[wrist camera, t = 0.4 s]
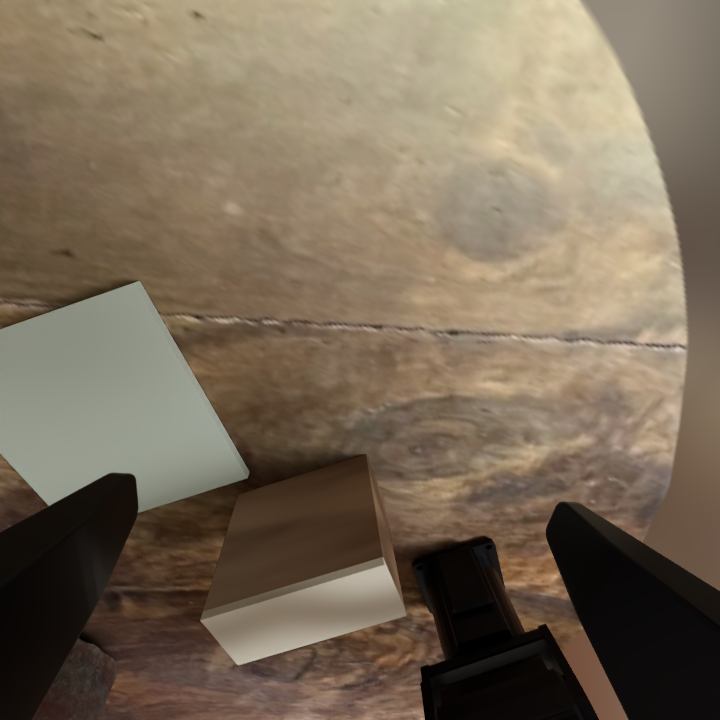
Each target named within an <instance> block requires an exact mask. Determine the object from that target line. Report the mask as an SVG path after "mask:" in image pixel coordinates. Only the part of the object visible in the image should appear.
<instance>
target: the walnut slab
mask: <svg viewBox="0 0 720 720" xmlns="http://www.w3.org/2000/svg"><path fill="white" fill-rule="evenodd" d="M404 616H406V612H405V606H404V601H403V596H402V591H401V586H400V581H399V576H398V571H397V566H396V561H395V556H394V551H393V546H392V541H391V536H390V531H389V526H388V521H387V515H386V510H385V505H384V500H383V496H382V494H381V491H380V489H379V486H378V483H377V481H376V478H375V476H374V473H373V471H372V468H371V465H370V463H369V460H368V458H367V455H366V454H365V455H362V456H359V457H355V458H352V459H349V460H346V461H343V462H340V463H336V464H333V465H330V466H327V467H324V468H321V469H317V470H314V471H311V472H308V473H305V474H302V475H298V476H295V477H292V478H289V479H286V480H283V481H279V482H276V483H273V484H270V485H267V486H264V487H260V488H257V489H254V490H251V491H248V492H245V493H241V494H238V497H237V500H236V504H235V507H234V510H233V514H232V517H231V520H230V523H229V527H228V530H227V533H226V537H225V540H224V543H223V547H222V550H221V553H220V557H219V560H218V563H217V567H216V570H215V573H214V576H213V580H212V583H211V586H210V590H209V593H208V596H207V600H206V603H205V606H204V610H203V613H202V616H201V620H200V621H201V622H202V623H203V624H204V626H205V627H206V628H207V629H208V630H209V631H210V633H211V634H212V635H213V636H214V637H215V639H216V640H217V641H218V642H219V643H220V645H221V646H222V647H223V648H224V649H225V651H226V652H227V653H228V654H229V655H230V657H231V658H232V659H233V660H234V661H235V663H236V664H237V665H241V664H244V663H248V662H251V661H255V660H258V659H261V658H265V657H268V656H271V655H275V654H278V653H282V652H285V651H288V650H292V649H295V648H299V647H302V646H305V645H309V644H312V643H316V642H319V641H322V640H326V639H329V638H332V637H336V636H339V635H343V634H346V633H349V632H353V631H356V630H360V629H363V628H366V627H370V626H373V625H376V624H380V623H383V622H387V621H390V620H393V619H397V618H400V617H404Z"/></svg>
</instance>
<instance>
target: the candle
mask: <svg viewBox="0 0 720 720" xmlns="http://www.w3.org/2000/svg"><path fill="white" fill-rule="evenodd" d="M116 674H117V668H116V661H115V660H113V658H112V657H110V656H109V655H108V654H106V653H104V652H102V651H101V650H100V649H99V647H97V646H96V645H94V644H91V643H87V642H85V641H83V640H81V639H79V638H78V640H77V641H76V643H75V645H74V647H73V648H72V650H71V652H70V654H69V655H68V657H67V659H66V661H65V662H64V664H63V666H62V668H61V670H60V671H59V673H58V675H57V677H56V678H55V680H54V682H53V684H52V685H51V687H50V689H49V691H48V692H47V694H46V696H45V698H44V700H43V701H42V703H41V705H40V707H39V708H38V710H37V712H36V714H35V715H34V717H33V719H32V720H98V718H99V716H100V714H101V711H102V709H103V706H104V704H105V702H106V699H107V697H108V695H109V692H110V690H111V688H112V685H113V683H114V680H115V678H116Z"/></svg>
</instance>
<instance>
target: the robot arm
mask: <svg viewBox="0 0 720 720" xmlns="http://www.w3.org/2000/svg"><path fill="white" fill-rule="evenodd" d="M137 514H138V495H137V484H136V478H135V476H134V475H133V474H130V473H116V472H114V473H109V474H107V475H105V476H103V477H101V478H99V479H97V480H95V481H94V482H92V483H90V484H88V485H86V486H84V487H83V488H81V489H79V490H77V491H75V492H73V493H72V494H70V495H68V496H66V497H64V498H62V499H60V500H59V501H57V502H55V503H53V504H51V505H49V506H48V507H46V508H44V509H42V510H40V511H38V512H37V513H35V514H33V515H31V516H29V517H27V518H26V519H24V520H22V521H20V522H18V523H16V524H15V525H13V526H11V527H9V528H7V529H5V530H4V531H2V532H0V720H32V719H33V717H34V715H35V714H36V712H37V710H38V708H39V707H40V705H41V703H42V701H43V700H44V698H45V696H46V694H47V692H48V691H49V689H50V687H51V685H52V684H53V682H54V680H55V678H56V677H57V675H58V673H59V671H60V670H61V668H62V666H63V664H64V662H65V661H66V659H67V657H68V655H69V654H70V652H71V650H72V648H73V647H74V645H75V643H76V641H77V640H78V638H79V636H80V634H81V632H82V631H83V629H84V627H85V625H86V624H87V622H88V620H89V618H90V617H91V615H92V613H93V611H94V609H95V607H96V605H97V604H98V602H99V600H100V598H101V595H102V593H103V591H104V589H105V587H106V585H107V583H108V580H109V578H110V576H111V574H112V571H113V569H114V567H115V565H116V562H117V560H118V558H119V556H120V554H121V551H122V549H123V547H124V545H125V542H126V540H127V538H128V536H129V533H130V531H131V529H132V527H133V524H134V522H135V520H136V517H137ZM546 538H547V541H548V544H549V546H550V549H551V551H552V554H553V556H554V559H555V561H556V564H557V566H558V569H559V571H560V574H561V577H562V579H563V582H564V584H565V587H566V589H567V592H568V594H569V597H570V599H571V602H572V604H573V606H574V609H575V611H576V613H577V615H578V618H579V620H580V622H581V624H582V626H583V628H584V630H585V632H586V634H587V636H588V638H589V640H590V642H591V644H592V646H593V648H594V650H595V652H596V654H597V656H598V658H599V661H600V663H601V664H602V667H603V669H604V670H605V673H606V675H607V677H608V679H609V681H610V683H611V685H612V687H613V689H614V691H615V693H616V695H617V697H618V699H619V701H620V703H621V705H622V707H623V709H624V711H625V713H626V715H627V717H628V719H629V720H720V591H719V590H717V589H716V588H714V587H712V586H711V585H709V584H707V583H706V582H704V581H703V580H701V579H700V578H698V577H696V576H695V575H693V574H692V573H690V572H688V571H687V570H685V569H684V568H682V567H680V566H679V565H677V564H676V563H674V562H672V561H671V560H669V559H668V558H666V557H665V556H663V555H661V554H659V553H658V552H657V551H655V550H653V549H652V548H650V547H649V546H647V545H645V544H644V543H642V542H641V541H639V540H637V539H636V538H634V537H633V536H631V535H629V534H628V533H626V532H625V531H623V530H621V529H620V528H618V527H617V526H615V525H613V524H612V523H610V522H609V521H607V520H606V519H604V518H602V517H601V516H599V515H598V514H596V513H594V512H593V511H591V510H590V509H588V508H586V507H585V506H583V505H582V504H580V503H576V502H560V503H558V504H557V505H556V507H555V510H554V512H553V514H552V516H551V519H550V521H549V523H548V525H547V528H546ZM412 566H413V570H414V573H415V575H416V578H417V581H418V583H419V586H420V588H421V591H422V594H423V596H424V599H425V601H426V604H427V607H428V609H429V612H430V613H432V614H433V617H434V621H435V624H436V628H437V632H438V636H439V640H440V643H441V647H442V651H443V655H444V659H445V661H442V662H439V663H437V664H434V665H431V666H429V665H425V666H423V667H421V675H422V682H421V684H420V686H421V691H422V698H423V707H424V715H425V720H599V719H598V717H597V715H596V713H595V711H594V709H593V707H592V705H591V703H590V701H589V700H588V698H587V696H586V694H585V692H584V690H583V688H582V687H581V685H580V683H579V681H578V680H577V678H576V676H575V674H574V673H573V671H572V669H571V667H570V665H569V664H568V662H567V660H566V658H565V657H564V655H563V653H562V651H561V650H560V648H559V646H558V644H557V643H556V641H555V639H554V637H553V636H552V634H551V632H550V630H549V629H548V627H547V625H546V624H543V625H540V626H538V628H537V629H534V630H532V631H529V632H526V633H525V631H524V629H523V627H522V625H521V622H520V620H519V618H518V616H517V614H516V612H515V610H514V607H513V605H512V603H511V601H510V599H509V597H508V595H507V592H506V590H505V586H504V582H503V577H502V573H501V569H500V564H499V560H498V555H497V551H496V547H495V544H494V542H493V540H492V539H491V538H485V539H482V540H479V541H475V542H472V543H469V544H465V545H462V546H459V547H456V548H452V549H449V550H446V551H442V552H439V553H436V554H432V555H429V556H426V557H422V558H419V559H416V560H414V561H413V563H412Z"/></svg>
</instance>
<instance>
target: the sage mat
mask: <svg viewBox="0 0 720 720" xmlns="http://www.w3.org/2000/svg"><path fill="white" fill-rule="evenodd" d="M0 454H1V455H2V456H3V457H4V458H5V459H6V460H7V461H8V462H9V463H10V464H11V466H12V467H13V468H14V469H15V470H16V471H17V472H18V473H19V474H20V475H21V476H22V477H23V478H24V480H25V481H26V482H27V483H28V484H29V485H30V486H31V487H32V488H33V489H34V490H35V491H36V492H37V494H38V495H39V496H40V497H41V498H42V499H43V500H44V501H45V502H46V503H47V504H48V505H51V504H53V503H55V502H57V501H59V500H60V499H62V498H64V497H66V496H68V495H70V494H72V493H73V492H75V491H77V490H79V489H81V488H83V487H84V486H86V485H88V484H90V483H92V482H94V481H95V480H97V479H99V478H101V477H103V476H105V475H107V474H109V473H114V472H116V473H130V474H133V475H134V476H135V478H136V484H137V495H138V513H140V512H143V511H146V510H149V509H152V508H155V507H159V506H162V505H165V504H168V503H171V502H174V501H177V500H181V499H184V498H187V497H190V496H193V495H196V494H200V493H203V492H206V491H209V490H212V489H215V488H218V487H222V486H225V485H228V484H231V483H234V482H237V481H240V480H244V479H247V478H248V475H249V470H248V468H247V466H246V465H245V463H244V461H243V460H242V458H241V456H240V454H239V453H238V451H237V449H236V447H235V446H234V444H233V442H232V440H231V439H230V437H229V435H228V433H227V432H226V430H225V428H224V427H223V425H222V423H221V421H220V420H219V418H218V416H217V414H216V413H215V411H214V409H213V407H212V406H211V404H210V402H209V400H208V399H207V397H206V395H205V394H204V392H203V390H202V388H201V387H200V385H199V383H198V381H197V380H196V378H195V376H194V374H193V373H192V371H191V369H190V367H189V366H188V364H187V362H186V360H185V359H184V357H183V355H182V354H181V352H180V350H179V348H178V347H177V345H176V343H175V341H174V340H173V338H172V336H171V334H170V333H169V331H168V329H167V327H166V326H165V324H164V322H163V321H162V319H161V317H160V315H159V314H158V312H157V310H156V308H155V307H154V305H153V303H152V301H151V300H150V298H149V296H148V294H147V293H146V291H145V289H144V288H143V286H142V284H141V282H140V281H137V282H134V283H131V284H129V285H126V286H123V287H120V288H117V289H114V290H111V291H108V292H106V293H103V294H100V295H97V296H94V297H91V298H88V299H85V300H83V301H80V302H77V303H74V304H71V305H68V306H65V307H62V308H60V309H57V310H54V311H51V312H48V313H45V314H42V315H39V316H37V317H34V318H31V319H28V320H25V321H22V322H19V323H16V324H14V325H11V326H8V327H5V328H2V329H0Z"/></svg>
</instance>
